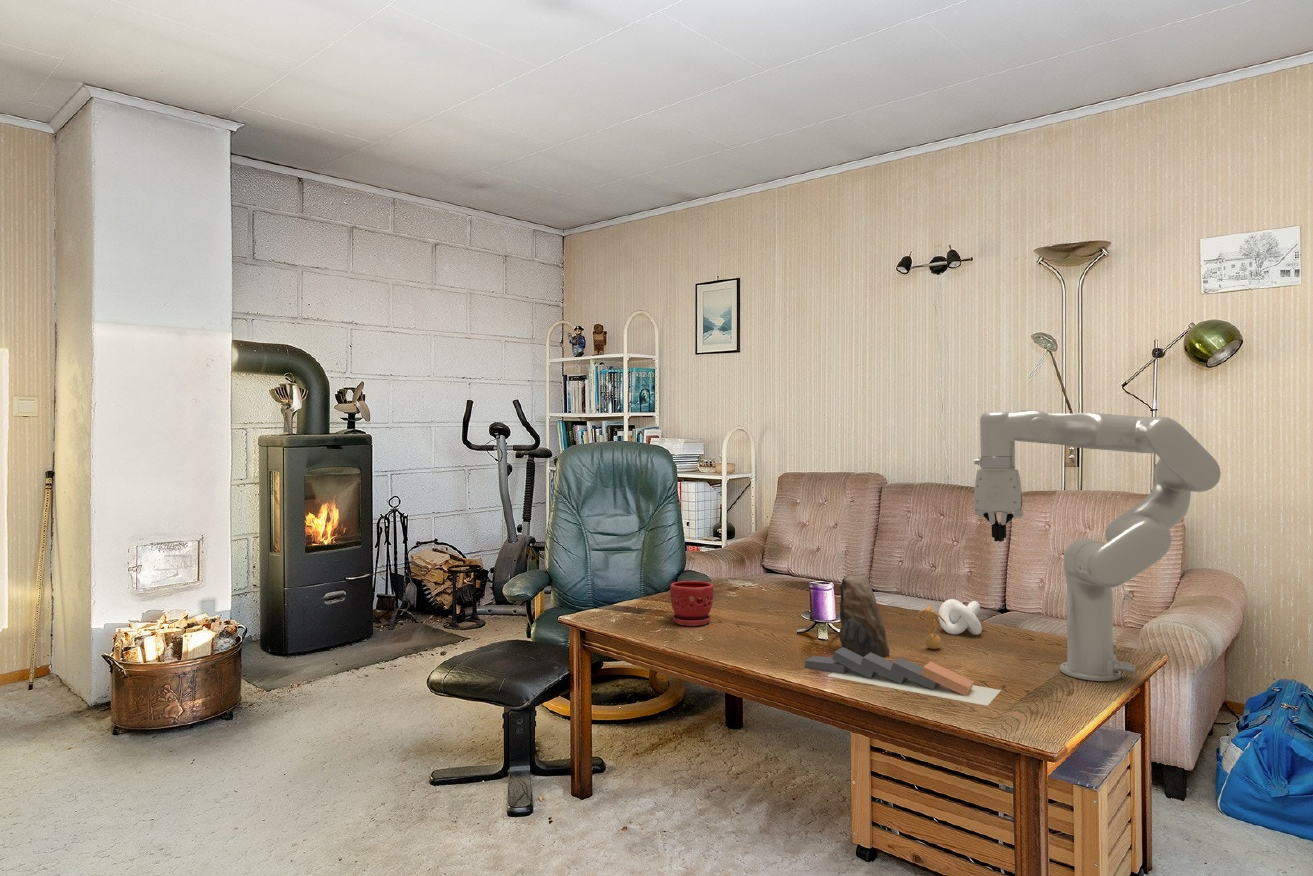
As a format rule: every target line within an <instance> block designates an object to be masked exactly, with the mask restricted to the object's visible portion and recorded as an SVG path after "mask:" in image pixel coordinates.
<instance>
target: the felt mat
mask: <svg viewBox="0 0 1313 876" xmlns="http://www.w3.org/2000/svg"><path fill="white" fill-rule="evenodd" d="M827 677H830V678H835V679H841V680H846V681H852V682H856V683H861V684H862V683H863V684H866V685H867V684H868V685H873V686H877V687H883V688H889V689H892V690H893V689H895V690H898V691H899V690H900V691H906V692H911V693H917V694H921V695H926V696H931V697H937V698H943V699H949V700H954V701H959V702H965V703H970V704H974V705H975V704H976V705H981V706H985V707H988V706H989V705H990V704H991V703H992V702H993V701H994V699H995V698H996V697H997V696H998V695H999V694H1000V692H1002V689H998V688H993V687H992V688H991V687H986V686H979V685H976V684H975V685H974V684H973V687H972V690H971V691H970V692H969V693H968V694H967V695H966V696H964V695H962V694H960V693H958V692H956V691H954V690H951V689H949V688H947V687H945V686H943V685H941V684H940V685H939V686H938V687H937V688H935V689H934V690H931V689H929V688H927V687H925V686H923V685H921V684H919V683H916V682H914V681H912V680H910V679H908V680H906V681H905V682H904V683H903V684H899V683H897V682H895V681H893V680H891V679H889V678H887V677H884V676H882V675H880V674H877V675H876V676H874V677H873V678H871V679H870V678H868V677H866V676H864V675H862V674H860V673H858V672H856V671H854V670H852V669H850V670H849V671H847V672H845V673H844V674H843V673H835V672H830V673H829V674H828V675H827Z"/></svg>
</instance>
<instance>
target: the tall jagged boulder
mask: <svg viewBox="0 0 1313 876" xmlns="http://www.w3.org/2000/svg"><path fill="white" fill-rule="evenodd" d="M839 588H840V602H839V618H840V620H839V621H840V626H841V628H839V633H838V636H839V641H840V645H841V648H842V647H844V648H846V649H848V650H850V651H852V652H854V653H856V654H858V655H860V656H862V657H864V656H866V655H867V654H869V653H874V654H876V655H878V656H880V657H882V658H889V657H890V651H891V650H890V649H891V648H890V647H889V642H888V639H887V638H888V637H887V633H886V630H885V625H884V622H883V619H882V616H881V612H880V610H879V606H878V603H877V599H876V597H875V594H874V591H873V588H872V586H871V584H870V581H869V579H868V576H867V575H866V574H865V573H863V572H862V573H860V574H851V573H850V574H846V575H845V576H844V577H843V578H842V582H841V584H840V585H839Z"/></svg>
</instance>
